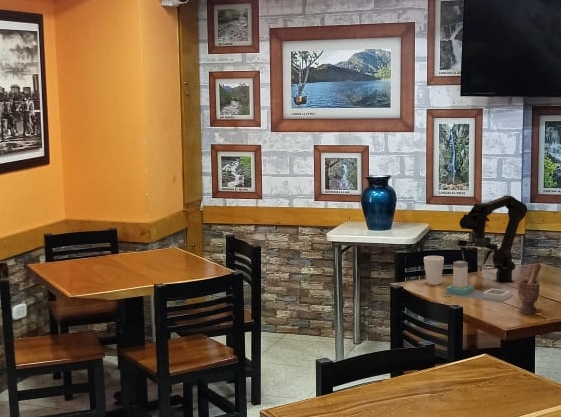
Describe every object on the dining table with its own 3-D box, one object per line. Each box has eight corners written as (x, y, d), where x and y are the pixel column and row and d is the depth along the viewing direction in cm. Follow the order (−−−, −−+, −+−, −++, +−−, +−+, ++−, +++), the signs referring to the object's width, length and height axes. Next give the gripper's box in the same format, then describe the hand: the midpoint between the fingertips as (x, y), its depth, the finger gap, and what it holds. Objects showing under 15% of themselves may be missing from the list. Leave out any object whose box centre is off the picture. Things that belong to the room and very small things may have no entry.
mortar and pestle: (521, 306, 348) (522, 261, 345) (542, 308, 344) (543, 262, 341) (515, 313, 338) (516, 266, 335) (536, 316, 334) (537, 268, 331)
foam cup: (442, 281, 395) (442, 255, 393) (444, 286, 386) (444, 259, 384) (423, 281, 396) (423, 255, 394) (424, 286, 387) (424, 260, 385)
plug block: (459, 290, 375) (459, 260, 372) (467, 291, 371) (467, 262, 369) (453, 291, 372) (453, 262, 370) (461, 293, 368) (461, 263, 366)
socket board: (442, 295, 370) (442, 288, 369) (457, 289, 380) (457, 282, 380) (500, 304, 352) (501, 297, 351) (514, 297, 363) (514, 290, 362)
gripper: (463, 229, 370) (458, 262, 371) (503, 234, 371) (498, 267, 372) (457, 227, 382) (453, 260, 382) (496, 231, 382) (492, 264, 383)
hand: (474, 263), depth 380 cm, fingers open, 9 cm apart
